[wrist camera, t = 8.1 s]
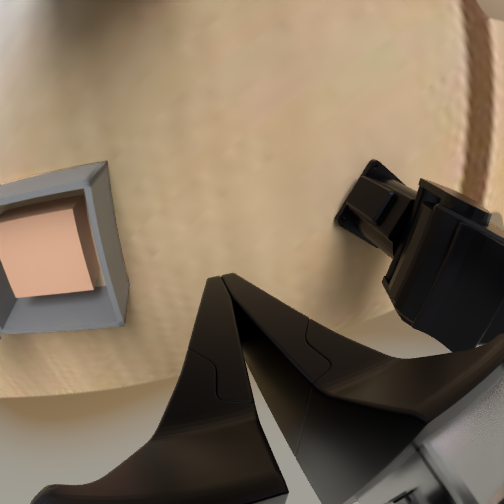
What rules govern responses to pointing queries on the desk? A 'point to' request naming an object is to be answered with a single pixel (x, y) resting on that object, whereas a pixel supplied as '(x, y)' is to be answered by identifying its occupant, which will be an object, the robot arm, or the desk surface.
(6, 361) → the desk surface
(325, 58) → the desk surface
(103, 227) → the base
